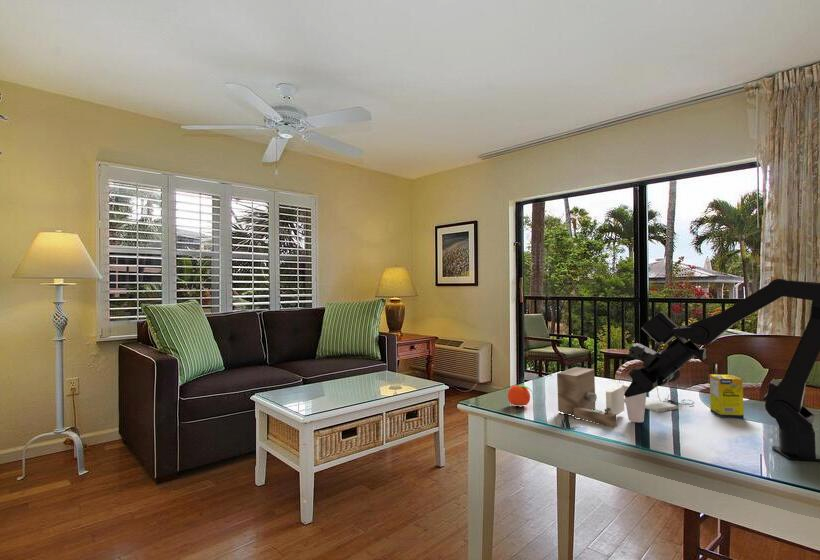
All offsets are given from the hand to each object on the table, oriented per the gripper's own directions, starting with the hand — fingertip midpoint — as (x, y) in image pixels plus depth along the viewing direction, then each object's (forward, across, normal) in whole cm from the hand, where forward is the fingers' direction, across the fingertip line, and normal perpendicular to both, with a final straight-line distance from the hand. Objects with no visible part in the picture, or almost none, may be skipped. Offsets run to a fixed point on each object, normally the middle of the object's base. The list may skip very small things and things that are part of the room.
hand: (629, 393), depth 119 cm
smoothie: (+4, 0, +6) cm, 7 cm away
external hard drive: (+7, -20, +5) cm, 22 cm away
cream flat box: (+7, +1, +2) cm, 8 cm away
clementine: (+27, +7, -16) cm, 32 cm away
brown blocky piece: (+13, +1, -2) cm, 13 cm away
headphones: (+3, -27, +8) cm, 28 cm away
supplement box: (-7, -24, +18) cm, 31 cm away
